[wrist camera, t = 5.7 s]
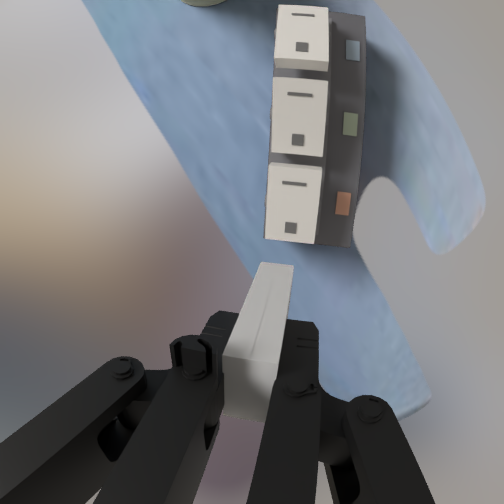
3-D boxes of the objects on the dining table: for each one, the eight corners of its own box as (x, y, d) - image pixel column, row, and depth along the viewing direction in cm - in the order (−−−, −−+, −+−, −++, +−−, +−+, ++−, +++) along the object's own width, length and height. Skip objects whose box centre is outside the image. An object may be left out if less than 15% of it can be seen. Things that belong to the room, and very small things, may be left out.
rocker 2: (272, 76, 20) (270, 77, 19) (329, 81, 20) (330, 81, 18) (271, 147, 24) (268, 152, 22) (324, 151, 23) (325, 157, 22)
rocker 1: (278, 15, 19) (276, 4, 18) (329, 18, 19) (330, 7, 17) (273, 67, 20) (271, 57, 18) (330, 71, 19) (331, 61, 18)
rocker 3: (268, 162, 23) (265, 165, 22) (324, 167, 23) (324, 171, 21) (265, 230, 26) (262, 238, 24) (316, 236, 25) (316, 244, 24)
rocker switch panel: (281, 27, 24) (275, 3, 19) (357, 34, 23) (366, 11, 18) (270, 224, 32) (261, 241, 27) (344, 232, 31) (351, 252, 25)
